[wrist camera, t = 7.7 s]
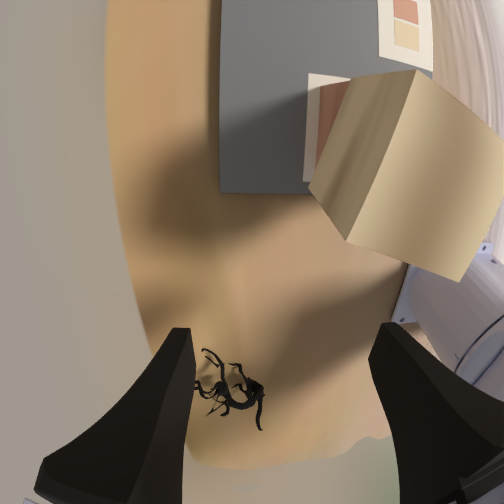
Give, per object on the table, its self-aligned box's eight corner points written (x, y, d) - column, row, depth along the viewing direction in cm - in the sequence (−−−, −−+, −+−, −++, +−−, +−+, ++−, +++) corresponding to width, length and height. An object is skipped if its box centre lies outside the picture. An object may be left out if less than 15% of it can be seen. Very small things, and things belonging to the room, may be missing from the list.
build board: (421, -13, 11) (427, -16, 10) (412, 198, 18) (418, 202, 18) (225, -49, 10) (225, -55, 10) (220, 189, 18) (219, 193, 17)
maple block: (441, 131, 11) (518, 156, 6) (400, 224, 13) (459, 282, 8) (350, 78, 10) (416, 69, 5) (307, 187, 12) (345, 241, 8)
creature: (194, 387, 29) (269, 401, 27) (177, 427, 24) (259, 445, 23) (183, 335, 25) (274, 350, 24) (159, 381, 20) (263, 403, 19)
